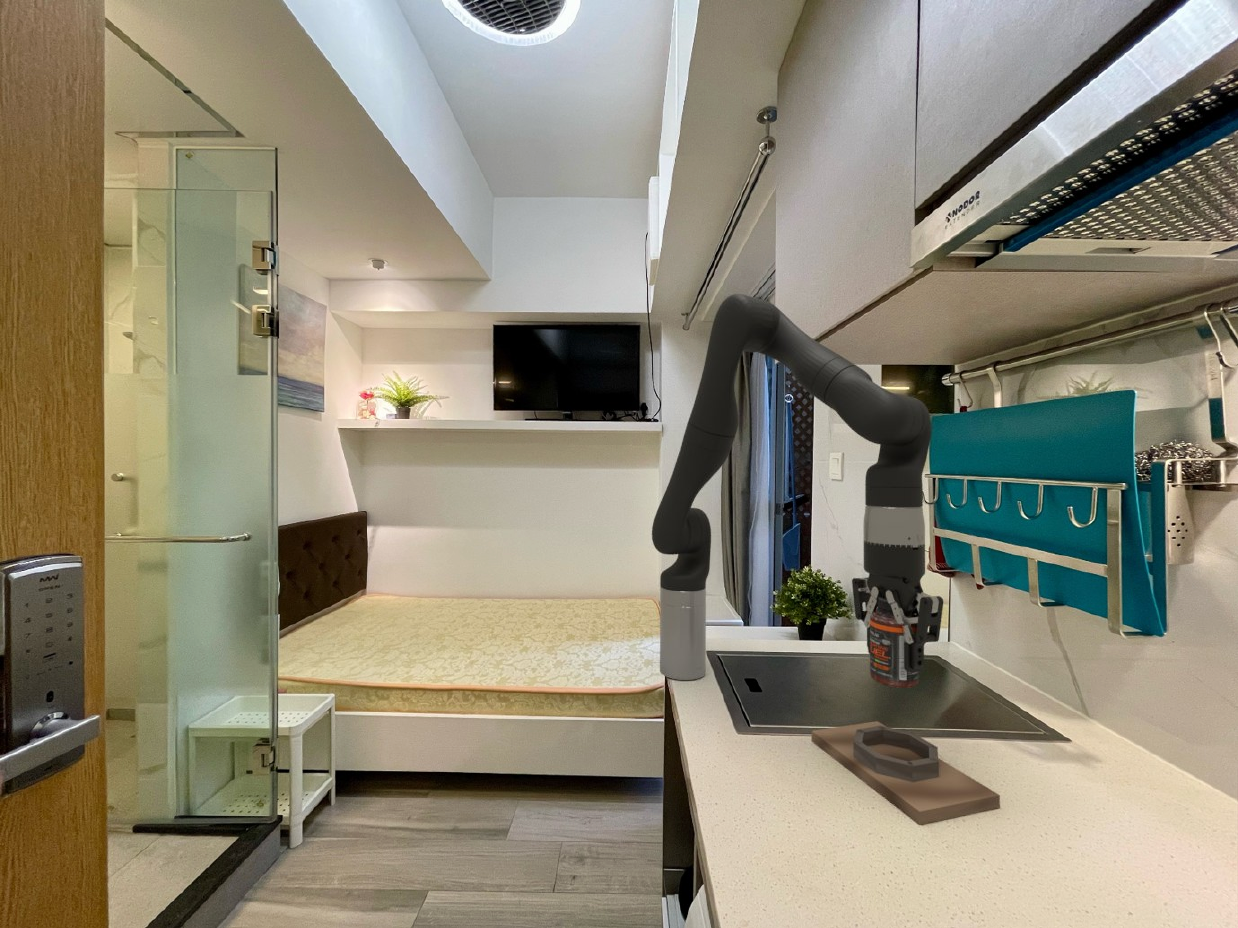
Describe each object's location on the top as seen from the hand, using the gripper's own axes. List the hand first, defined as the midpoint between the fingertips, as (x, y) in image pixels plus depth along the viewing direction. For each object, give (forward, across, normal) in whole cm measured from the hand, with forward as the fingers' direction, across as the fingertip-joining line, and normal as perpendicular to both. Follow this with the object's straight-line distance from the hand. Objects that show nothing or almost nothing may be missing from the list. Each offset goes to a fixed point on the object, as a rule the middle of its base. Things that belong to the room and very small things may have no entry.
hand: (894, 662), depth 73 cm
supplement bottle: (+3, 0, 0) cm, 3 cm away
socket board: (+15, 0, 0) cm, 15 cm away
